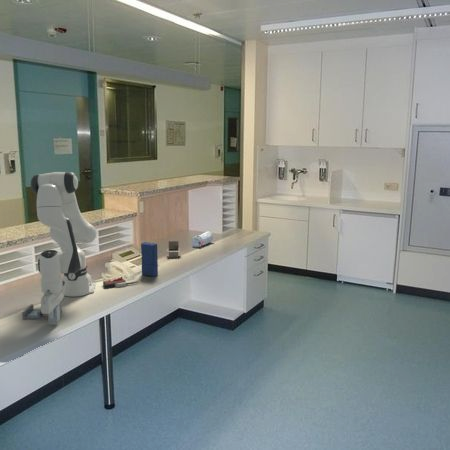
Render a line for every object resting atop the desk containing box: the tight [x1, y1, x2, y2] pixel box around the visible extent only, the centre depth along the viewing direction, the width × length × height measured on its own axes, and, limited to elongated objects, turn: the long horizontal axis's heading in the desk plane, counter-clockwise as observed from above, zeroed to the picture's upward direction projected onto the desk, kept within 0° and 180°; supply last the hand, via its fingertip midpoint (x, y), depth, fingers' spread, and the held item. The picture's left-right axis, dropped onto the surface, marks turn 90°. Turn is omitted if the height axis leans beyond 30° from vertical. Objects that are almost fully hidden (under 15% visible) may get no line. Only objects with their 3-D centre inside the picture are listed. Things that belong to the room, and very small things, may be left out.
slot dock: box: [21, 304, 63, 321], centre depth 219 cm, size 10×15×4 cm, turn 90°
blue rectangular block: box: [140, 241, 159, 277], centre depth 282 cm, size 10×5×20 cm, turn 62°
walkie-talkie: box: [102, 276, 140, 289], centre depth 264 cm, size 9×4×20 cm
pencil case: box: [190, 231, 214, 248], centre depth 359 cm, size 21×9×10 cm, turn 151°
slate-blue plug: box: [48, 304, 61, 323], centre depth 208 cm, size 4×4×6 cm
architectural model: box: [166, 240, 181, 259], centre depth 324 cm, size 19×17×11 cm
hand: (54, 315), depth 208 cm, fingers closed on slate-blue plug, 4 cm apart
